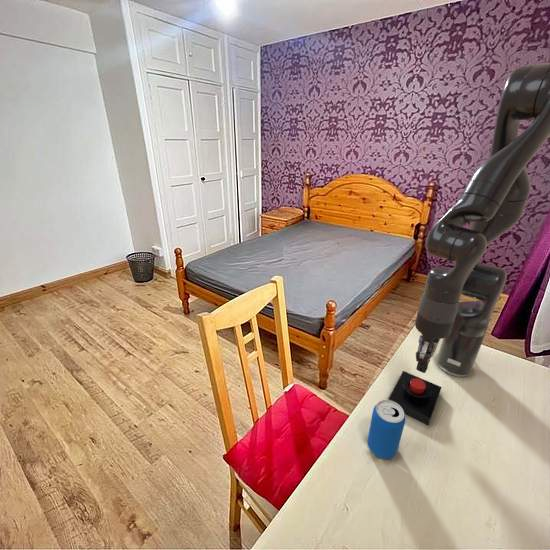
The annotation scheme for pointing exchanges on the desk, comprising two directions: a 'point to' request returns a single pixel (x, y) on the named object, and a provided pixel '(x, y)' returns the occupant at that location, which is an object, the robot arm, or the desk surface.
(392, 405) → the beverage can
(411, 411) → the button housing
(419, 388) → the plunger
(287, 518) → the desk surface
